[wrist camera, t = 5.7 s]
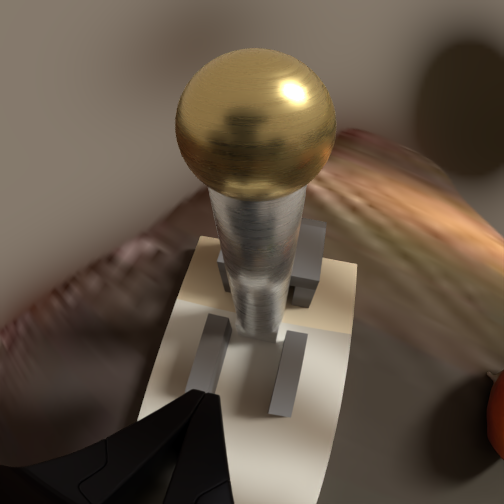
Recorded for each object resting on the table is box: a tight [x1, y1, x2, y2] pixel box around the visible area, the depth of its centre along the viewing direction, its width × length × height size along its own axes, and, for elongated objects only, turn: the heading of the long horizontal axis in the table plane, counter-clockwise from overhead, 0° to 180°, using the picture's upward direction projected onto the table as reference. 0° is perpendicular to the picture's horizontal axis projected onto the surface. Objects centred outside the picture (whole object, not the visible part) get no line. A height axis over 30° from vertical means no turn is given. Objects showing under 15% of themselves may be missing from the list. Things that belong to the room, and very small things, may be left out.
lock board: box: [137, 218, 357, 504], centre depth 13 cm, size 15×10×5 cm, turn 167°
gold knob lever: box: [175, 48, 336, 343], centre depth 10 cm, size 6×3×13 cm, turn 167°
